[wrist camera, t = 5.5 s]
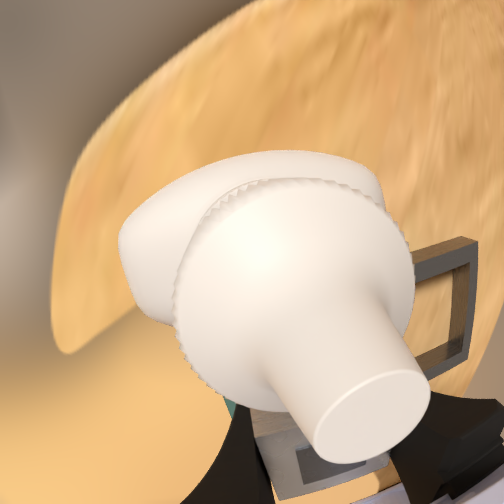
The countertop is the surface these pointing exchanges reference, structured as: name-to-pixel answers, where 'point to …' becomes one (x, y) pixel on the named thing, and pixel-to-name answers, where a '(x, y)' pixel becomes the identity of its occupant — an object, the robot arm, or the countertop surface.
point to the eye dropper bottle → (286, 293)
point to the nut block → (301, 457)
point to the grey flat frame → (463, 302)
